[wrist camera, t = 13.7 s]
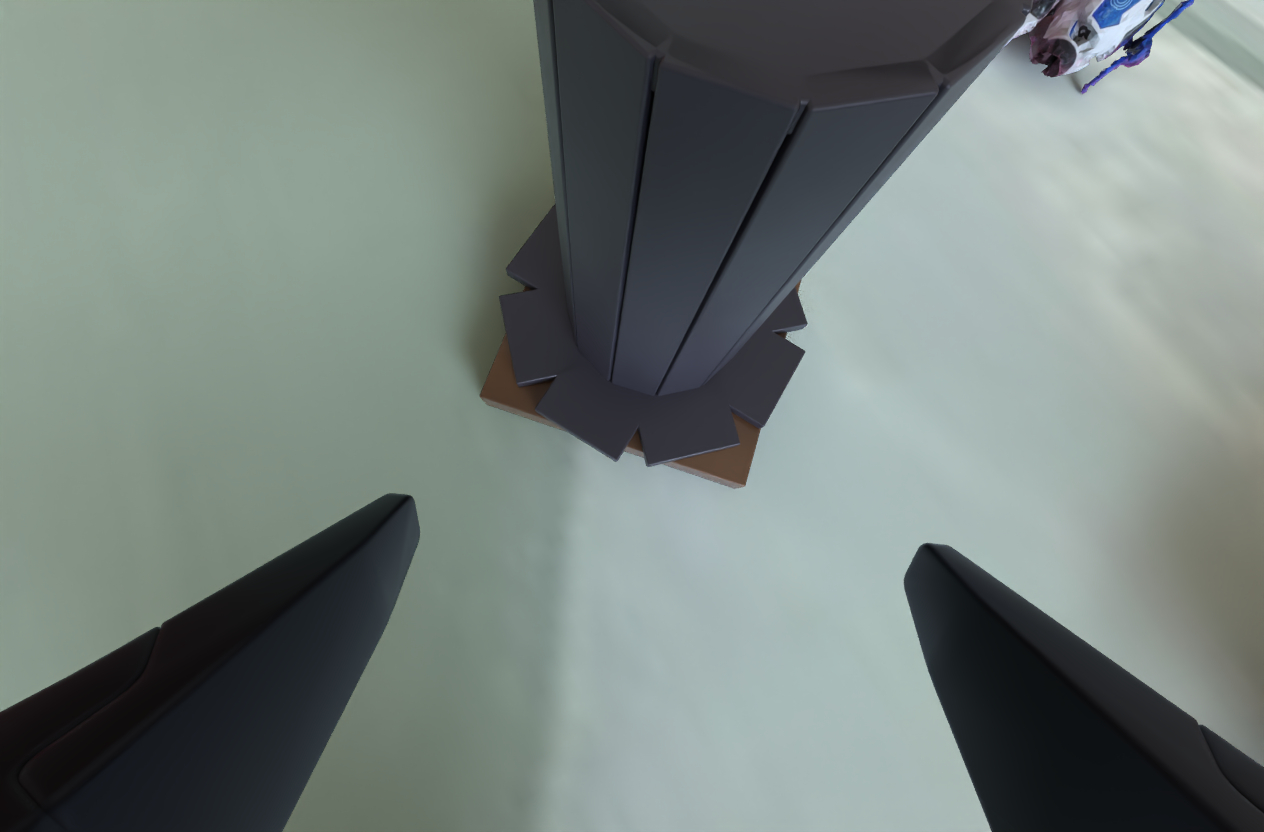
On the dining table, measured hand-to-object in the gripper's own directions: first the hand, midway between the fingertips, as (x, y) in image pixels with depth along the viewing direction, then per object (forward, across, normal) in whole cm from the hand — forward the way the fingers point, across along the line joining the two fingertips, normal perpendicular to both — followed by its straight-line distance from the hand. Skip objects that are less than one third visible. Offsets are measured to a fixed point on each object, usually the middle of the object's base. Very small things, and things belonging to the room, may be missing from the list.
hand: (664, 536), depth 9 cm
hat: (+12, 0, 0) cm, 12 cm away
